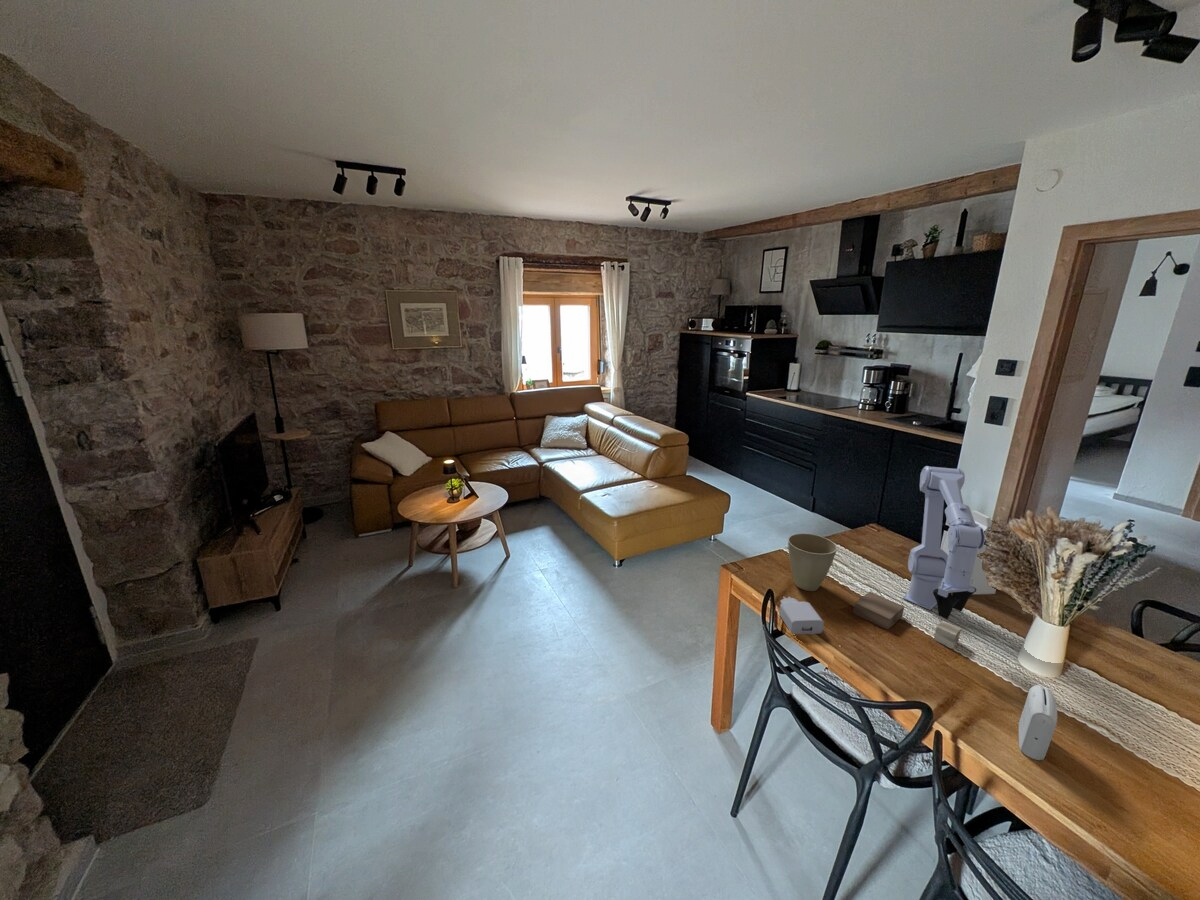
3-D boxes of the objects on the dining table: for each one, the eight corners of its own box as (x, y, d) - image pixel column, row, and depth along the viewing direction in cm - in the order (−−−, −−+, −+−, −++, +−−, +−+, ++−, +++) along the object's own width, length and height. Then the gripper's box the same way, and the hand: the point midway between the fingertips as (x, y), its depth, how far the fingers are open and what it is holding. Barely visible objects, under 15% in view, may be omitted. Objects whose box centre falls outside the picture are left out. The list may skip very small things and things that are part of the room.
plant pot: (840, 595, 152) (847, 552, 147) (798, 599, 150) (803, 555, 145) (814, 571, 166) (819, 531, 161) (775, 575, 164) (779, 534, 159)
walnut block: (867, 602, 149) (869, 591, 148) (901, 617, 141) (904, 606, 140) (852, 613, 143) (854, 602, 142) (887, 630, 135) (889, 619, 134)
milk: (934, 574, 163) (949, 507, 156) (966, 574, 163) (982, 506, 156) (961, 594, 151) (978, 522, 144) (995, 593, 152) (1014, 521, 144)
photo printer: (1045, 765, 95) (1062, 717, 91) (1017, 753, 97) (1032, 706, 94) (1042, 731, 102) (1057, 686, 99) (1017, 721, 105) (1030, 676, 101)
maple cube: (939, 633, 133) (942, 620, 132) (958, 642, 130) (961, 628, 129) (933, 640, 131) (936, 626, 130) (952, 648, 127) (955, 635, 126)
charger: (799, 603, 148) (822, 634, 134) (771, 603, 148) (790, 634, 134) (801, 590, 147) (824, 620, 133) (772, 590, 147) (792, 620, 132)
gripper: (963, 580, 117) (954, 628, 120) (989, 567, 124) (979, 613, 127) (933, 569, 123) (924, 614, 126) (959, 557, 130) (950, 600, 133)
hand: (950, 613), depth 127 cm, fingers open, 7 cm apart
